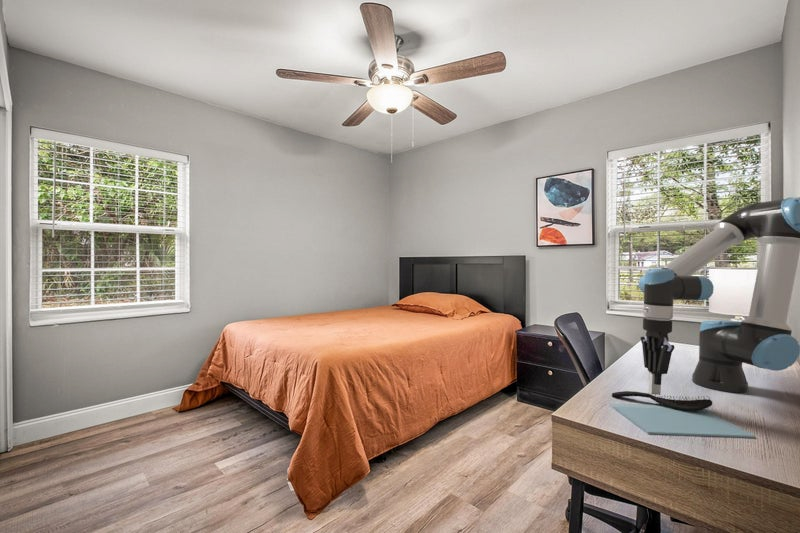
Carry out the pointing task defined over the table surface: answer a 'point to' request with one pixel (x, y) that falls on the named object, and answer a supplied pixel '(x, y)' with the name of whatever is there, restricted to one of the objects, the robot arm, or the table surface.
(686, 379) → the table surface
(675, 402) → the hairbrush
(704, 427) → the plate
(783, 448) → the table surface
